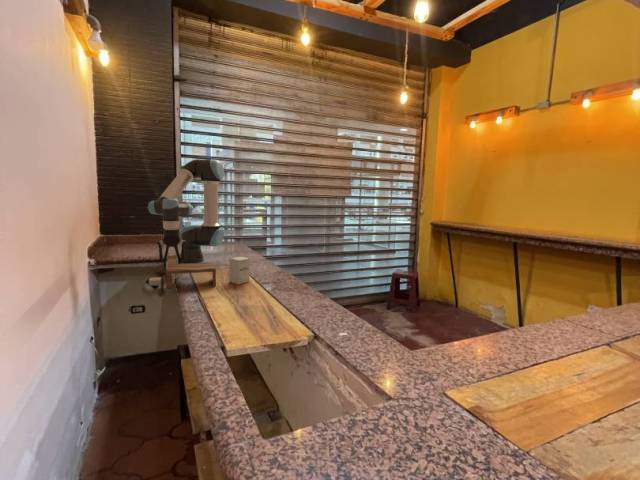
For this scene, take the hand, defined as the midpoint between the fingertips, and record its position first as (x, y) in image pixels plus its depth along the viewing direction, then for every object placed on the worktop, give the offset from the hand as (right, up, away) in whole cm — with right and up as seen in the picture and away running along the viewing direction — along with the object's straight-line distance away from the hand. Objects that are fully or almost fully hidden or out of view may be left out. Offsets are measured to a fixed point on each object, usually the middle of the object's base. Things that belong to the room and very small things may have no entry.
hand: (172, 272), depth 175 cm
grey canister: (+36, -5, -2) cm, 36 cm away
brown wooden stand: (+14, -5, -8) cm, 17 cm away
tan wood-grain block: (+2, -3, -6) cm, 7 cm away
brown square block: (-4, -5, -11) cm, 13 cm away
